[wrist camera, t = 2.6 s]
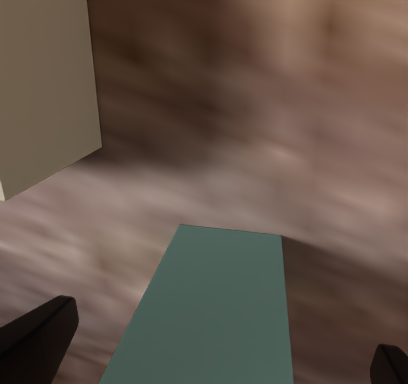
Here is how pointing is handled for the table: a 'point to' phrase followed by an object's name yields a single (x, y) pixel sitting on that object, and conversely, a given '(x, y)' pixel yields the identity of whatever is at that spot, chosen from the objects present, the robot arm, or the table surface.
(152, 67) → the table surface
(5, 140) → the socket block
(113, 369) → the peg
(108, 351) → the table surface
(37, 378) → the robot arm
